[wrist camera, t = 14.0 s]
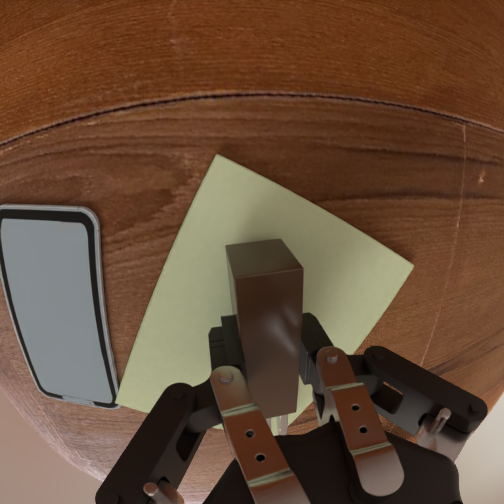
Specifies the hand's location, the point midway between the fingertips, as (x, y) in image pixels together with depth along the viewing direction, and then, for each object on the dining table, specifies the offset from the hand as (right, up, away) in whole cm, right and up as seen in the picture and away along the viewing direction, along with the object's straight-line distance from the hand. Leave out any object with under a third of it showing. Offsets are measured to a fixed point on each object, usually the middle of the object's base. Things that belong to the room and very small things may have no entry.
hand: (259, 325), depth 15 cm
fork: (0, -3, +2) cm, 3 cm away
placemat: (0, -2, +3) cm, 3 cm away
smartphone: (-12, -1, 0) cm, 13 cm away
